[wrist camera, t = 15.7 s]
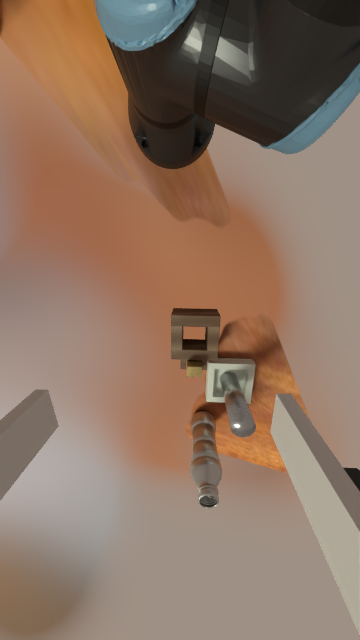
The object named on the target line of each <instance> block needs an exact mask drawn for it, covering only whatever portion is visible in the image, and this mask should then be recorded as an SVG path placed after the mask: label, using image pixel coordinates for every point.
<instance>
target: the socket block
mask: <svg viewBox="0 0 360 640" xmlns="http://www.w3.org/2000/svg"><path fill="white" fill-rule="evenodd" d="M183 326H193V327H206V334H205V340H197V339H196V340H195V339H183ZM219 330H220V314H219V313H218V311H217V309H182V308H174V309H173V312H172V315H171V357H172V359H181V369H186V360H201V365H202V370H207V362H208V360H213V361H217V358H218V345H219Z"/></svg>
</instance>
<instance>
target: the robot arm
mask: <svg viewBox="0 0 360 640" xmlns="http://www.w3.org/2000/svg"><path fill="white" fill-rule="evenodd" d="M94 1H95V5H96V10H97V15H98V18H99V20H100V23H101V26H102V28H103V30H104V32H105V35H106V37H107V40H108V42H109V45H110V47H111V50H112V53H113V55H114V58H115V60H116V63H117V65H118V68H119V70H120V73H121V75H122V78H123V80H124V83H125V85H126V88H127V90H128V113H129V121H130V126H131V129H132V132H133V135H134V137H135V139H136V142H137V144H138V146H139V148H140V149H141V151H142V152H143V153H144V155H145V156H146V157H147V158H148V159H149V160H150V161H152V162H153V163H155V164H156V165H158V166H161V167H163V168H168V169H178V168H182V167H185V166H188V165H189V164H191V163H193V162H194V161H196V160H197V159H198V158H199V157H200V156H201V155H202V154H203V152H204V151H205V149H206V148H207V146H208V144H209V142H210V140H211V138H212V135H213V131H214V126H215V124H217V125H220V126H222V127H224V128H226V129H228V130H230V131H233V132H235V133H237V134H239V135H241V136H244V137H246V138H248V139H250V140H252V141H255V142H257V143H259V144H260V146H261V147H263V148H267V149H270V148H272V149H274V150H277V151H280V152H282V153H285V154H294V153H298V152H300V151H302V150H304V149H306V148H307V147H309V146H310V145H311V144H313V143H314V142H315V141H316V140H317V139H318V138H320V137H321V136H322V135H323V133H325V132H326V131H327V130H328V129H329V128H330V127H331V126H332V125H333V123H334V122H335V121H336V120H337V119H338V118H339V117H340V116H341V114H342V113H343V112H344V111H345V110H346V108H347V107H348V106H349V105H350V104H351V103H352V101H353V100H354V99H355V98H356V96H357V95H358V94H359V92H360V0H94ZM57 427H58V422H57V419H56V415H55V412H54V409H53V405H52V402H51V398H50V395H49V391H48V390H35V391H34V392H32V393H31V394H30V395H29V396H28V397H27V398H26V399H24V400H23V401H22V402H21V403H20V404H19V405H18V406H16V407H15V408H14V409H13V410H12V411H10V412H9V413H8V414H7V415H6V416H5V417H4V418H2V419H1V420H0V500H1V499H2V498H3V496H4V495H5V494H6V493H7V491H8V490H9V489H10V488H11V486H12V485H13V484H14V482H15V481H16V480H17V478H18V477H19V476H20V475H21V473H22V472H23V471H24V469H25V468H26V467H27V466H28V464H29V463H30V462H31V461H32V459H33V458H34V457H35V456H36V454H37V453H38V451H39V450H40V449H41V448H42V446H43V445H44V444H45V443H46V441H47V440H48V439H49V438H50V436H51V435H52V433H53V432H54V431H55V430H56V428H57ZM271 435H272V437H273V439H274V441H275V444H276V446H277V448H278V450H279V453H280V455H281V457H282V460H283V462H284V464H285V466H286V469H287V471H288V473H289V476H290V478H291V480H292V482H293V485H294V487H295V489H296V492H297V494H298V496H299V498H300V501H301V503H302V505H303V507H304V510H305V512H306V514H307V516H308V519H309V521H310V523H311V526H312V528H313V530H314V533H315V535H316V537H317V539H318V542H319V544H320V546H321V548H322V551H323V553H324V555H325V558H326V560H327V562H328V565H329V567H330V569H331V571H332V574H333V576H334V578H335V580H336V583H337V585H338V587H339V590H340V592H341V594H342V597H343V599H344V601H345V603H346V606H347V608H348V610H349V612H350V615H351V617H352V619H353V622H354V624H355V626H356V628H357V631H358V633H359V635H360V470H358V469H357V468H343V467H342V466H341V464H340V463H339V461H338V460H337V459H336V457H335V456H334V454H333V453H332V451H331V450H330V449H329V447H328V446H327V444H326V443H325V442H324V440H323V439H322V437H321V436H320V435H319V433H318V432H317V430H316V429H315V427H314V426H313V425H312V423H311V422H310V420H309V419H308V417H307V416H306V415H305V413H304V412H303V410H302V409H301V407H300V406H299V405H298V403H297V402H296V400H295V399H294V398H293V396H292V395H291V394H276V400H275V406H274V413H273V419H272V426H271Z"/></svg>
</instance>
